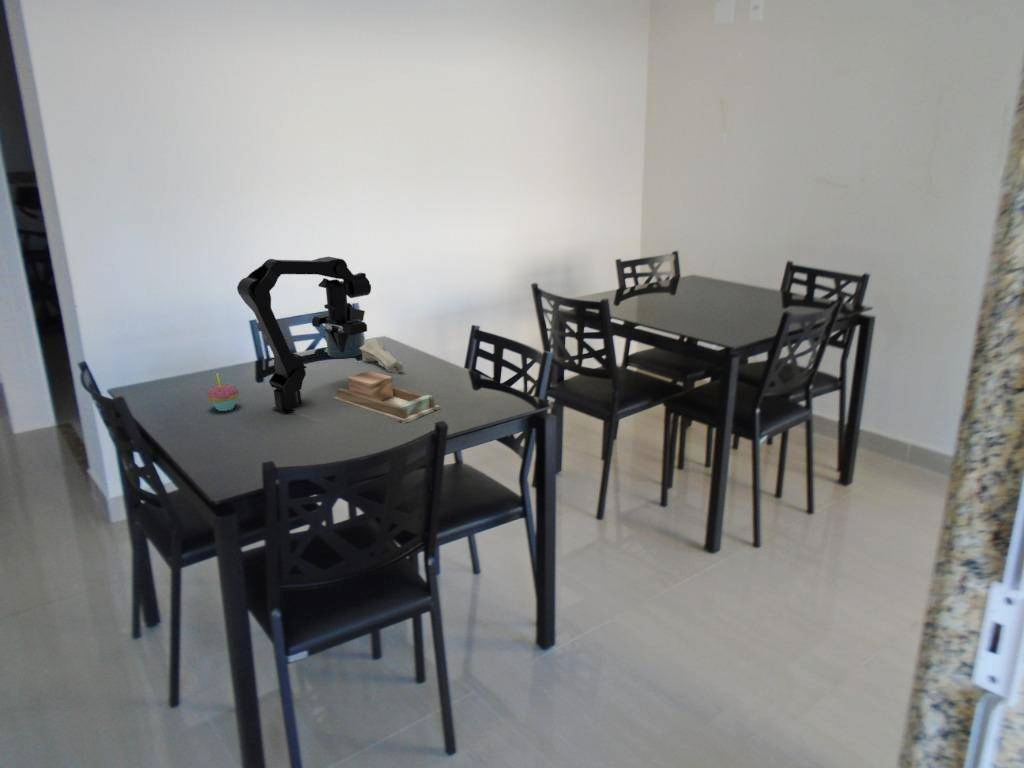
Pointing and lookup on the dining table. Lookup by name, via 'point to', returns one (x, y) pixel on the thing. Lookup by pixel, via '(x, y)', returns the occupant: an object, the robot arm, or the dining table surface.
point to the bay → (393, 403)
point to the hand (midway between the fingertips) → (341, 352)
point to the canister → (351, 346)
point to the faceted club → (380, 355)
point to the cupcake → (223, 396)
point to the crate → (372, 385)
